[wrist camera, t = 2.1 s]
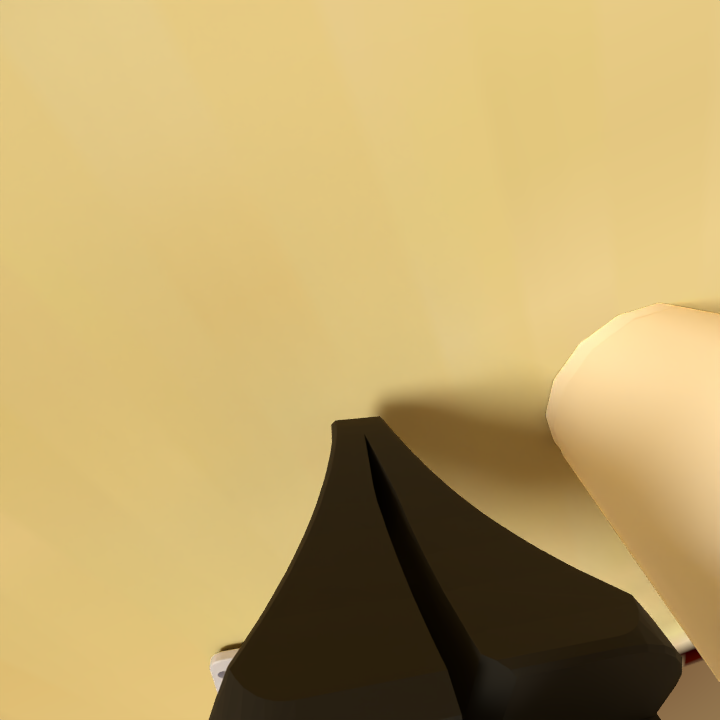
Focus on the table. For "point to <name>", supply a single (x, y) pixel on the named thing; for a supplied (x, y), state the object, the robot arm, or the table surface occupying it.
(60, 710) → the table surface
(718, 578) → the foam cup
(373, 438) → the robot arm
